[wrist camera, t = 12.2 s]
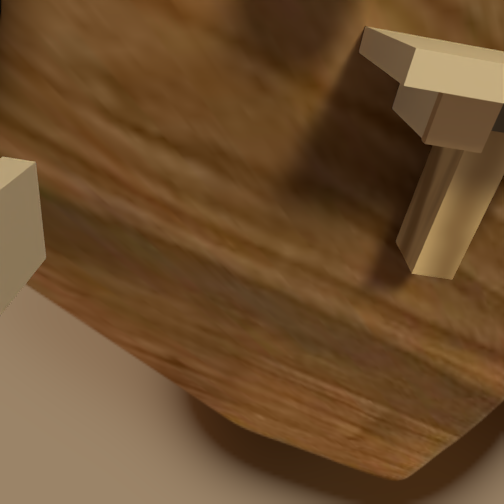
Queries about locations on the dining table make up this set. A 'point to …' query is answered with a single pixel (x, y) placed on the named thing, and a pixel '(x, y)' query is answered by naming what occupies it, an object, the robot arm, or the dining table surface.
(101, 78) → the dining table surface
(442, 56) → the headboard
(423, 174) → the rail
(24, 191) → the robot arm
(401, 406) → the dining table surface
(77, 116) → the dining table surface
